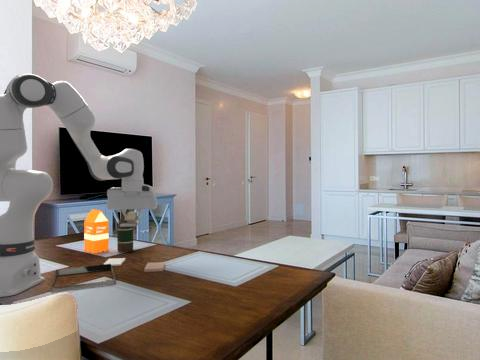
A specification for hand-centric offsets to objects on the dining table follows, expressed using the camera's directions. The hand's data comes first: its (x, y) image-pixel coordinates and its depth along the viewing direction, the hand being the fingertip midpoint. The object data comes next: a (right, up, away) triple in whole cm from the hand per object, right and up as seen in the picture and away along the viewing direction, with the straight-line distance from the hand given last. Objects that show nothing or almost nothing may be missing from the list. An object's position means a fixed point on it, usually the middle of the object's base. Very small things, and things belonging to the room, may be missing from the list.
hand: (132, 220), depth 144 cm
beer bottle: (-10, -18, +21) cm, 29 cm away
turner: (0, -2, -3) cm, 3 cm away
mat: (-7, -18, -1) cm, 19 cm away
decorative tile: (-10, -19, -23) cm, 31 cm away
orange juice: (-24, -18, +22) cm, 37 cm away
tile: (+11, -18, -4) cm, 21 cm away
